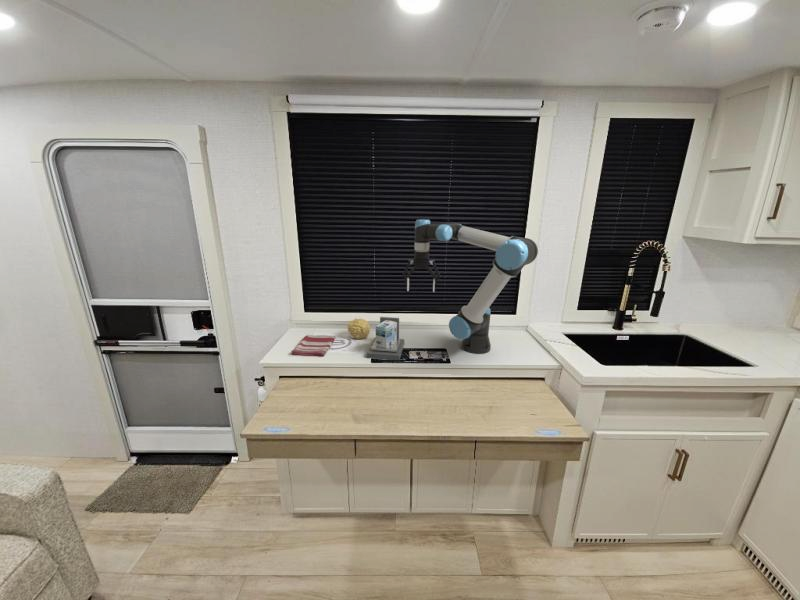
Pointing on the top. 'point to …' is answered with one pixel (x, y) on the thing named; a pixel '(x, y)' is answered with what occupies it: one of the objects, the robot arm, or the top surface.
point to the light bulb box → (386, 333)
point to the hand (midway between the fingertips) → (420, 291)
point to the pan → (391, 348)
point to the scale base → (387, 354)
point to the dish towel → (313, 345)
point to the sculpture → (359, 328)
